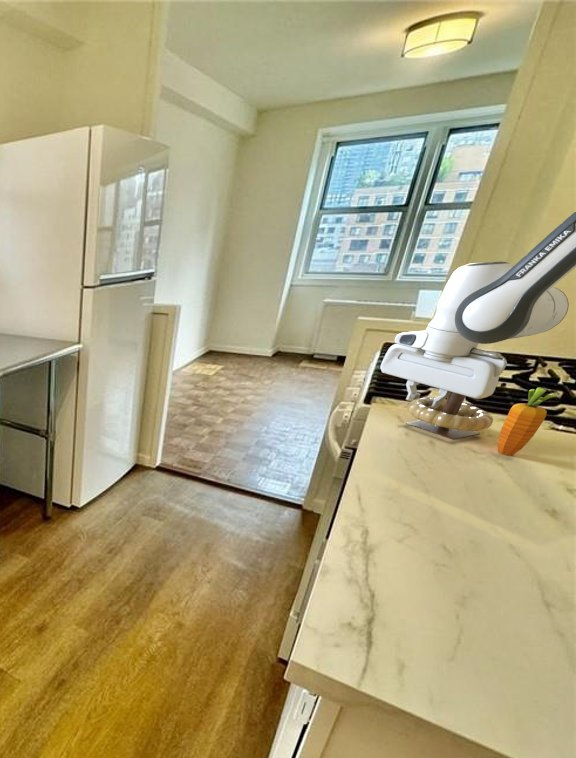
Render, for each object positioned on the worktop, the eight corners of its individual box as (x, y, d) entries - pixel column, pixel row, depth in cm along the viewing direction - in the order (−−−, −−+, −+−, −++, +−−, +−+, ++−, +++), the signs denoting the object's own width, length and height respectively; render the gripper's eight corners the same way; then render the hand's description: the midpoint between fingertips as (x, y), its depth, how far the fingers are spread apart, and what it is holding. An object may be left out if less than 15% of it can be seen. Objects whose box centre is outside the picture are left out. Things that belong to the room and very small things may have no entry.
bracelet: (504, 428, 101) (511, 415, 99) (462, 436, 97) (469, 424, 95) (431, 404, 112) (436, 393, 111) (391, 411, 108) (396, 400, 107)
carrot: (494, 452, 98) (532, 381, 91) (525, 463, 94) (568, 390, 87) (478, 455, 97) (516, 384, 90) (509, 467, 92) (551, 393, 86)
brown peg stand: (476, 439, 103) (508, 379, 97) (449, 445, 101) (480, 383, 95) (429, 423, 111) (456, 367, 105) (403, 428, 108) (428, 370, 102)
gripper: (520, 354, 94) (486, 419, 100) (407, 331, 111) (384, 388, 118) (500, 356, 92) (467, 423, 98) (388, 333, 109) (366, 390, 116)
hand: (421, 403), depth 108 cm, fingers closed on bracelet, 3 cm apart
